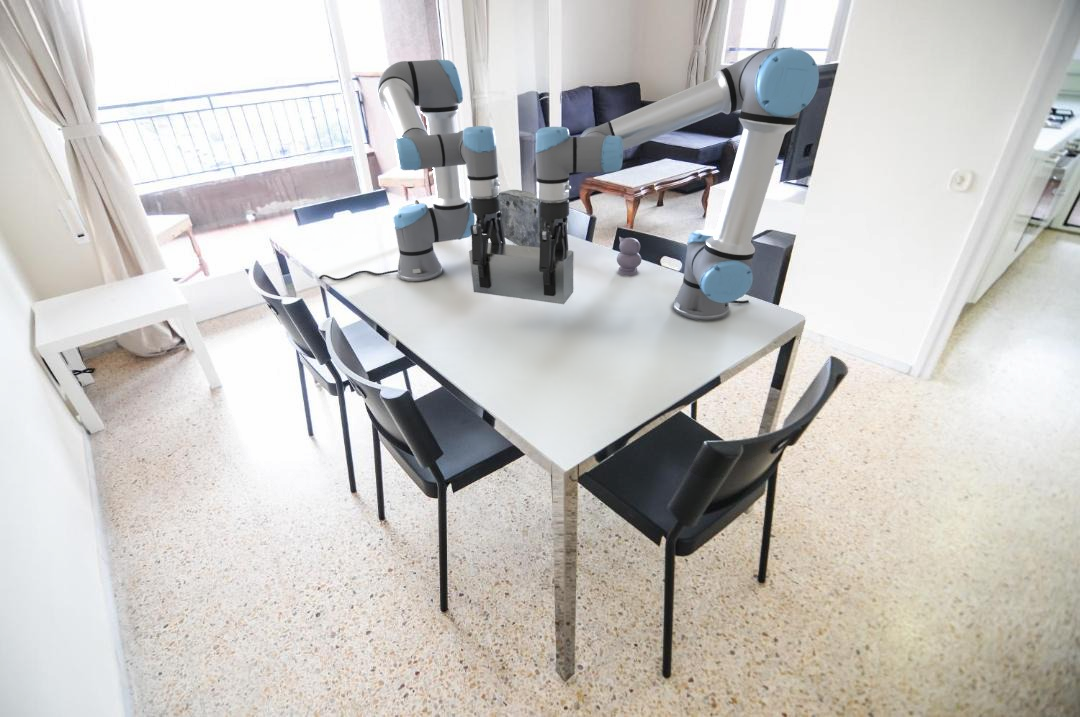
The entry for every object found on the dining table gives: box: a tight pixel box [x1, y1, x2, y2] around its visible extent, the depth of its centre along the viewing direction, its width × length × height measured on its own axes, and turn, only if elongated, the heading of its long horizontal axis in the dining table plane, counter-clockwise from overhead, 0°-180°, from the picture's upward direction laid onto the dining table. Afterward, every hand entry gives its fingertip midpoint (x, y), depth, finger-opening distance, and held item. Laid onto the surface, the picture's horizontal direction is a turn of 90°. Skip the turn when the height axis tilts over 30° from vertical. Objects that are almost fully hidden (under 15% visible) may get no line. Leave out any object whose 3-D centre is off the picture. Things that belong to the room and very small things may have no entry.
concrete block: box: [497, 189, 545, 248], centre depth 191 cm, size 27×9×20 cm, turn 36°
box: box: [468, 242, 574, 305], centre depth 130 cm, size 26×8×11 cm, turn 69°
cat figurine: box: [616, 236, 642, 277], centre depth 167 cm, size 9×8×12 cm
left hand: (492, 280), depth 135 cm, fingers closed on box, 8 cm apart
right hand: (555, 288), depth 129 cm, fingers closed on box, 8 cm apart
